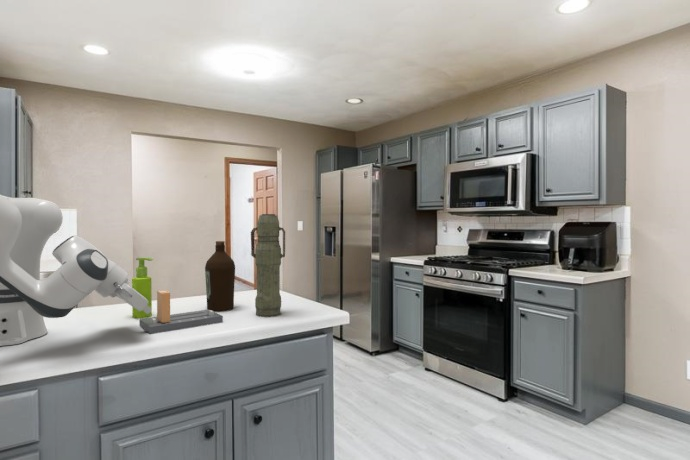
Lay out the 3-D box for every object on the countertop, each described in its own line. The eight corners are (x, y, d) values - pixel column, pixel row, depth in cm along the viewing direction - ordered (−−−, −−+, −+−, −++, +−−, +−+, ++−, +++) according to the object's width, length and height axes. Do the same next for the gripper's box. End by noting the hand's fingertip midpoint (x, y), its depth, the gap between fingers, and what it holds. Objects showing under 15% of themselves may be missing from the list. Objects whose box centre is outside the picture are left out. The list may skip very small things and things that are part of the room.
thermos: (251, 311, 149) (251, 214, 148) (285, 310, 151) (285, 214, 150) (249, 317, 140) (249, 214, 139) (285, 316, 142) (285, 214, 141)
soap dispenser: (146, 318, 138) (146, 258, 137) (128, 317, 139) (127, 258, 139) (158, 314, 144) (157, 257, 143) (140, 313, 145) (139, 256, 144)
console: (149, 333, 120) (149, 321, 120) (139, 325, 130) (139, 313, 129) (222, 322, 134) (222, 310, 134) (208, 315, 143) (208, 304, 143)
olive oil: (234, 305, 160) (233, 240, 159) (236, 311, 150) (236, 241, 149) (205, 306, 156) (204, 240, 156) (205, 313, 146) (205, 242, 146)
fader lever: (161, 322, 124) (161, 293, 123) (157, 319, 128) (156, 290, 127) (170, 321, 125) (170, 292, 125) (165, 318, 129) (165, 289, 129)
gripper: (128, 277, 110) (167, 308, 117) (113, 269, 126) (148, 297, 133) (109, 295, 108) (150, 327, 114) (96, 285, 124) (132, 313, 130)
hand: (148, 311), depth 124 cm, fingers closed
